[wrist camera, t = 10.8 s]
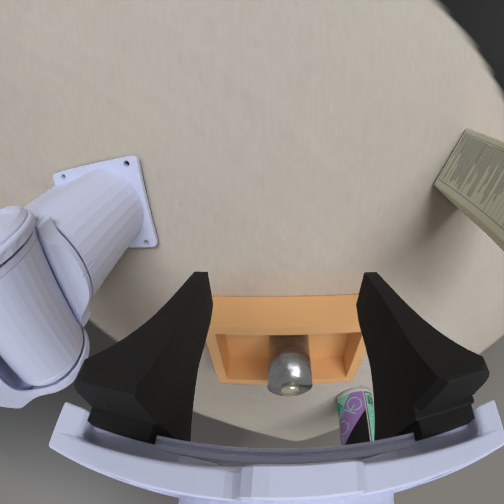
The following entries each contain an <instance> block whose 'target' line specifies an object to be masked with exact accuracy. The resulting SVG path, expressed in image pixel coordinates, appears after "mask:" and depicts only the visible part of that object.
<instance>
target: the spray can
mask: <svg viewBox="0 0 504 504" xmlns="http://www.w3.org/2000/svg"><path fill="white" fill-rule="evenodd" d="M337 405H338V415H339V426H340V438H341V445H349V444H357V443H364V442H370V441H374V430H375V412H374V406H373V401H372V395H371V391H370V389H369V388H366V387H357V388H352V389H348V390H346V391H344V392H342V393H340V394H339V395H338V397H337Z"/></svg>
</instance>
